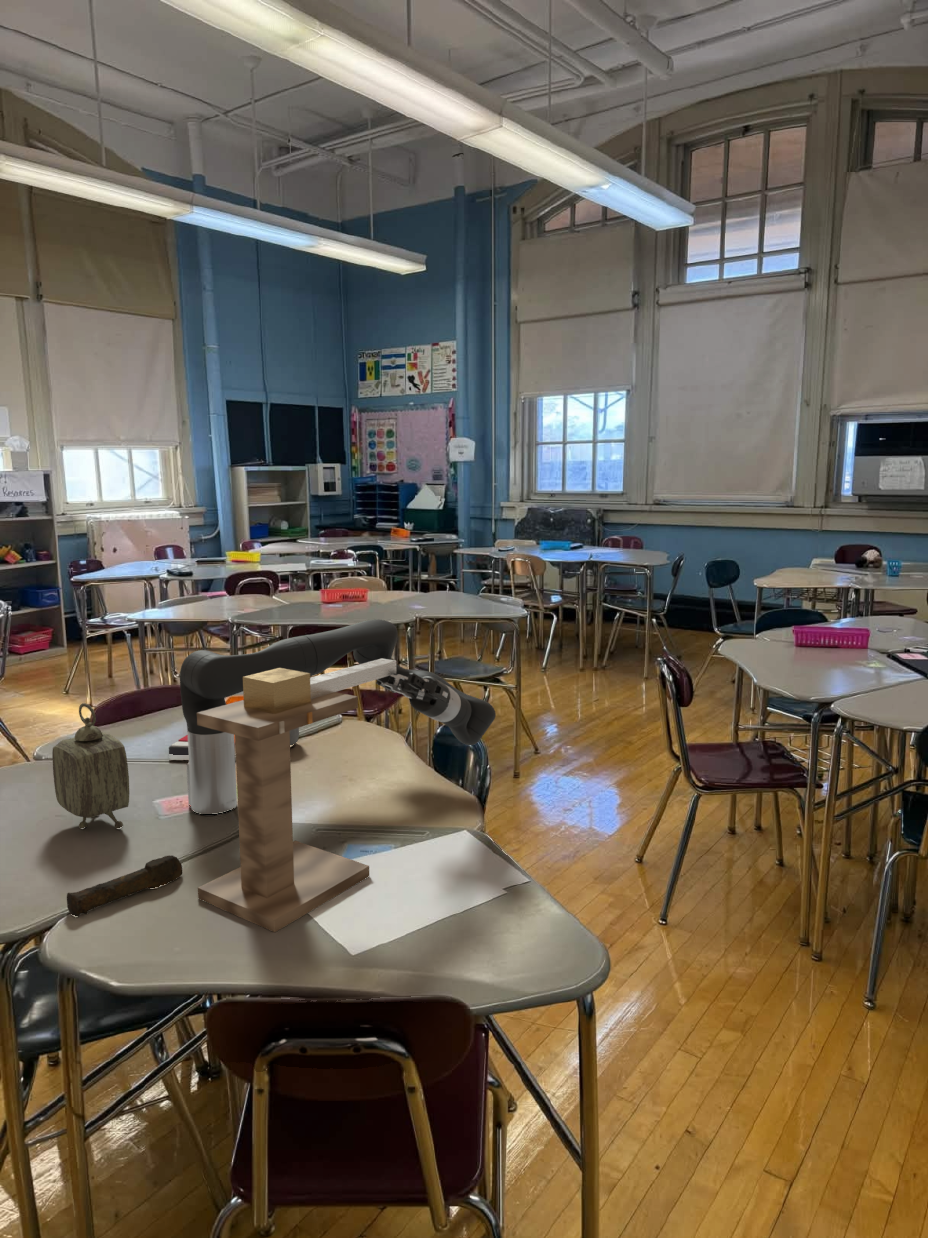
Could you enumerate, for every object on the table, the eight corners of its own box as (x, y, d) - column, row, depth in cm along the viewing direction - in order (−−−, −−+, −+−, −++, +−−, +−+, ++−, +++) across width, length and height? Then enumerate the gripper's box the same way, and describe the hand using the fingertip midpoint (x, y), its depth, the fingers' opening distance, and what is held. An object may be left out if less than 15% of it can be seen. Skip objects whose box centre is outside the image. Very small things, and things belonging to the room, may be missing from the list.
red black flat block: (233, 730, 218) (211, 745, 203) (233, 746, 218) (211, 762, 203) (192, 729, 218) (167, 744, 204) (193, 745, 219) (168, 761, 204)
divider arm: (243, 707, 134) (242, 676, 133) (375, 670, 160) (374, 644, 159) (274, 714, 130) (273, 683, 129) (403, 674, 156) (403, 648, 156)
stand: (198, 899, 137) (188, 710, 132) (295, 850, 155) (290, 683, 149) (274, 932, 127) (267, 730, 122) (369, 876, 145) (366, 698, 139)
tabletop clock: (132, 829, 164) (124, 706, 160) (85, 844, 157) (76, 716, 153) (100, 809, 173) (91, 693, 169) (55, 822, 167) (45, 701, 163)
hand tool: (75, 923, 130) (73, 895, 129) (65, 913, 133) (63, 886, 132) (189, 883, 143) (188, 857, 142) (178, 875, 146) (177, 850, 145)
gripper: (413, 678, 177) (369, 652, 164) (469, 687, 169) (427, 661, 156) (403, 711, 175) (357, 688, 162) (458, 723, 167) (415, 699, 154)
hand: (392, 674), depth 159 cm, fingers open, 8 cm apart
